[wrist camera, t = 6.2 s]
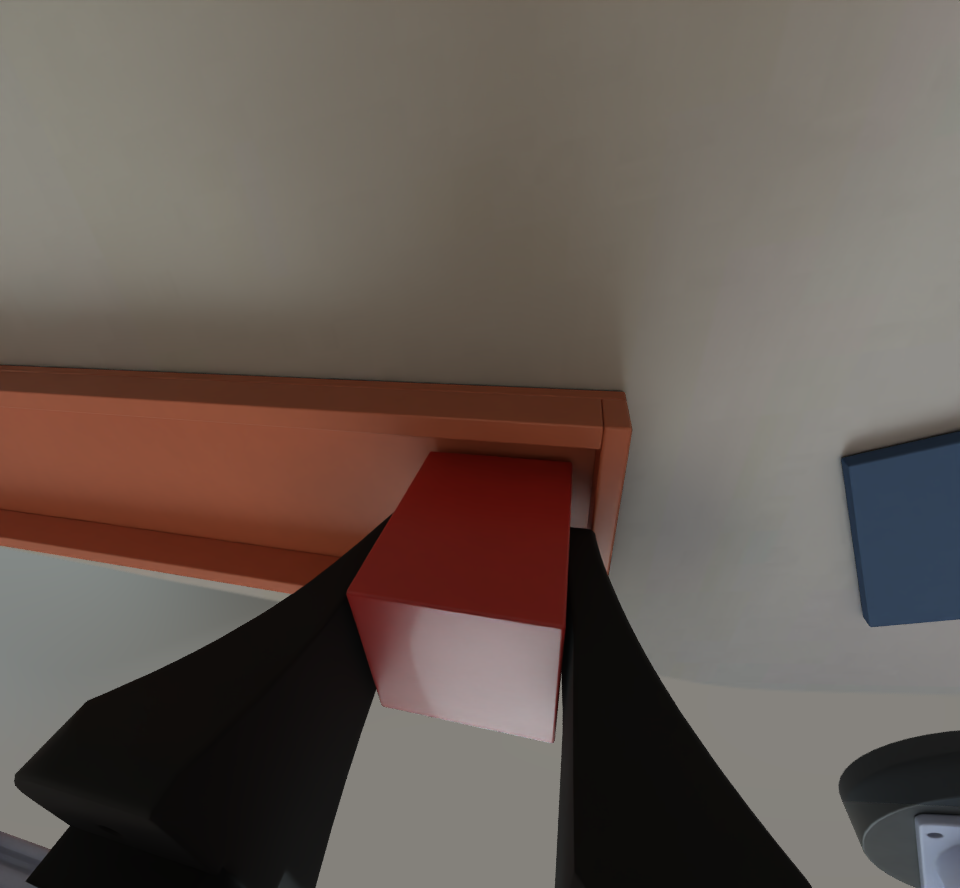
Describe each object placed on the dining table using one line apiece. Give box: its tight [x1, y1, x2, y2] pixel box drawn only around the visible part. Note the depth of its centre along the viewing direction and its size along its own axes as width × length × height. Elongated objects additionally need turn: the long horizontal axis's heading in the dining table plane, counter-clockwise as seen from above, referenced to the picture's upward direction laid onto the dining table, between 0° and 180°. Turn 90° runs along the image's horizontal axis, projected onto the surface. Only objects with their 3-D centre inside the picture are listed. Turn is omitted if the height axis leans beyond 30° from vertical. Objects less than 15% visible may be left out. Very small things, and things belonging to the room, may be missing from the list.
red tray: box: [0, 365, 632, 594], centre depth 16 cm, size 41×8×2 cm, turn 93°
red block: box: [346, 451, 573, 743], centre depth 10 cm, size 4×4×5 cm
